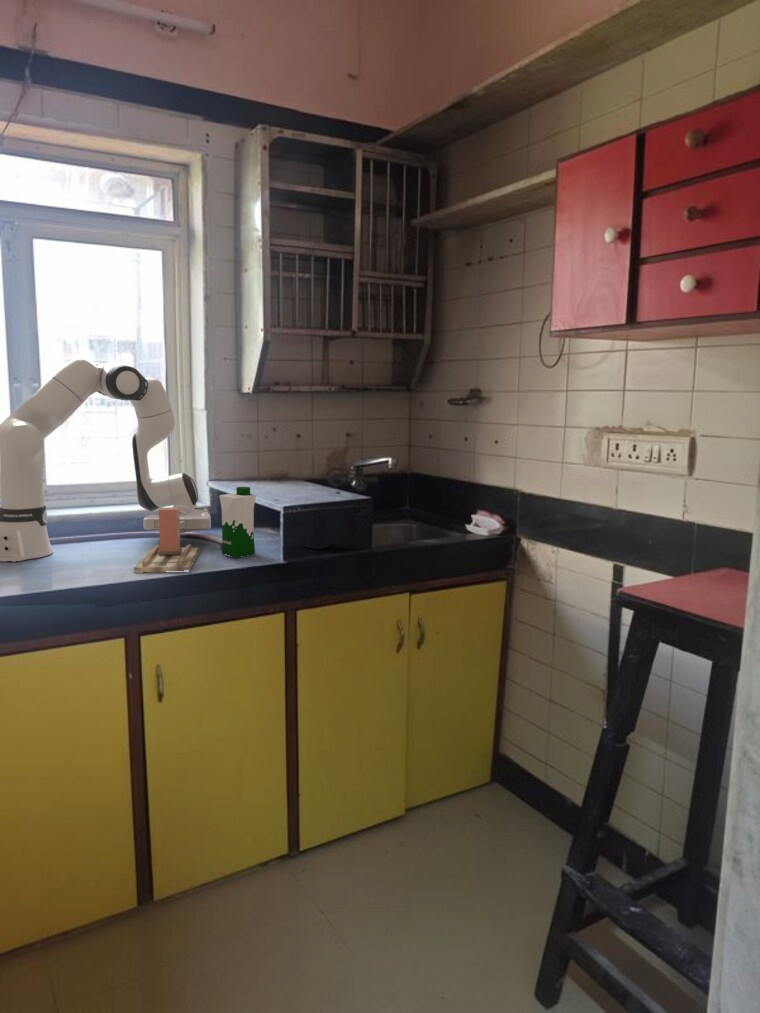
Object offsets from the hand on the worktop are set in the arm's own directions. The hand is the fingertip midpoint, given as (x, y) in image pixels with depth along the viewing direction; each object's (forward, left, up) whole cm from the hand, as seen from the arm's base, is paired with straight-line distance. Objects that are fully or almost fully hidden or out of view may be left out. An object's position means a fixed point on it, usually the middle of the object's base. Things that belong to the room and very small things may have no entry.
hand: (174, 526), depth 211 cm
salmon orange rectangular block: (0, -10, -6) cm, 11 cm away
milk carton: (+19, -6, -8) cm, 21 cm away
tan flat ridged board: (0, -14, -8) cm, 16 cm away
